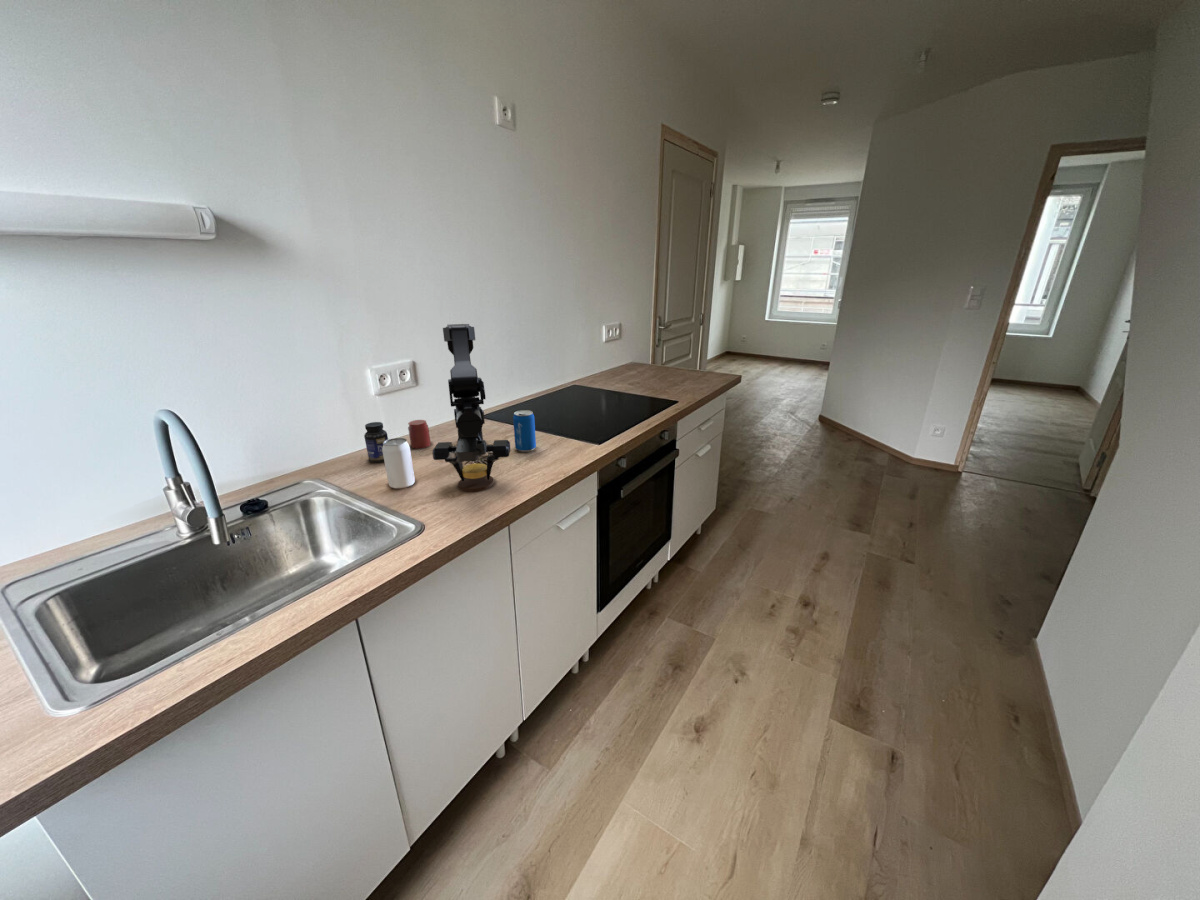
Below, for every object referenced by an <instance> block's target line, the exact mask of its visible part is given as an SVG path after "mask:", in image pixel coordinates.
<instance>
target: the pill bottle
mask: <svg viewBox="0 0 1200 900" xmlns="http://www.w3.org/2000/svg"><path fill="white" fill-rule="evenodd" d="M364 427H365V431H366V432H365V433H364V435H363V436H364V437H363V438H364V441H365V447H366V453H367V457H368V460H369V462H371V463H385V462H384V457H383V451H382V448H383V442H384V441H386V440H388V439H389V437H388V433H387V430H384V423H383V422H381V421H372V422H368V423H366V424H365V425H364Z"/></svg>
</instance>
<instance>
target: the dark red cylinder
mask: <svg viewBox="0 0 1200 900" xmlns="http://www.w3.org/2000/svg"><path fill="white" fill-rule="evenodd" d="M407 425H408V427H407V430H408V431H407V432H408V435H409V442H410V448H412V449H416V450H417V449H420V450H421V449H425V448H429V447H431V445H432V443H431V437H430V429H429V424H427V420H426V419H415V420H411V421H409V422H408V424H407Z"/></svg>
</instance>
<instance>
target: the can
mask: <svg viewBox="0 0 1200 900" xmlns="http://www.w3.org/2000/svg"><path fill="white" fill-rule="evenodd" d="M382 451H383V457H384V462H383V463H384V466H385V472H386V477H387V482H388V483H387V484H388V486H389V487H390V488H391V489H396V490H401V489H406V488H410V487H411V486H413V485H414V484H415V482H416V478H415V473H414V472H415V471H414V464H413V458H412V452H411V446H410V444H409V442H408V441H407V438H405V437H393V438H388V440H386V441H384V442H383V448H382Z"/></svg>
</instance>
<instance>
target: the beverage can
mask: <svg viewBox="0 0 1200 900" xmlns="http://www.w3.org/2000/svg"><path fill="white" fill-rule="evenodd" d="M512 420H513V434H514V448H515V449H516V450H517V451H518V452H521V453H528V452H533V451H534V449H536V448H537V441H536V422H535V415H534V413H533V411H532V410H529V409H526V410H525V409H523V410H522V409H521V410H517V411H515V412H514V413H513V416H512Z"/></svg>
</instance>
